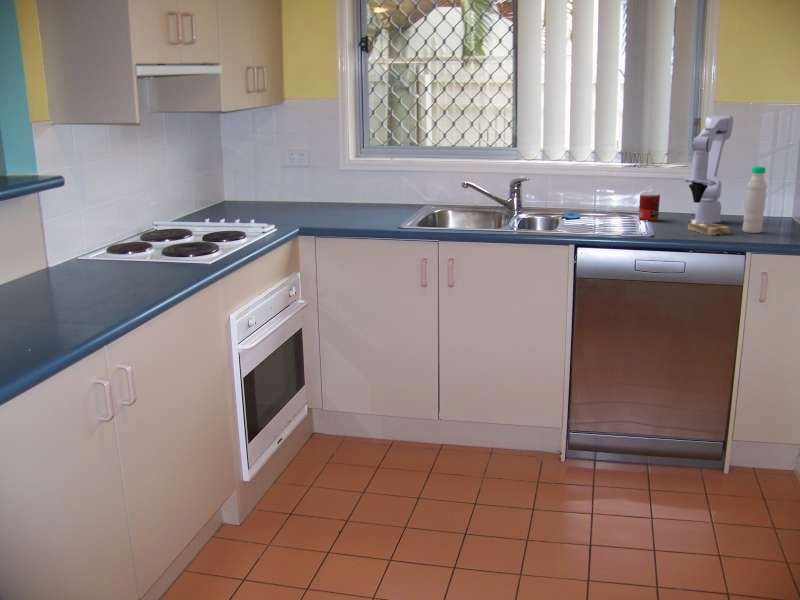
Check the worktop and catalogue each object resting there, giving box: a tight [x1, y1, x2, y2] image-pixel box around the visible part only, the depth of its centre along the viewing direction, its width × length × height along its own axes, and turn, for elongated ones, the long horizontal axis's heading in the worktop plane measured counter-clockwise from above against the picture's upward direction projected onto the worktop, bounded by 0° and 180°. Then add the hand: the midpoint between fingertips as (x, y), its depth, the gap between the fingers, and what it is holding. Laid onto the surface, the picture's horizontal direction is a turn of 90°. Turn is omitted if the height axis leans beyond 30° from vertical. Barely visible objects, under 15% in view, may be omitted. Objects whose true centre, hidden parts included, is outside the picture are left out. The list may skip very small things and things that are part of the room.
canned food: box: [638, 191, 661, 222], centre depth 362 cm, size 8×8×11 cm
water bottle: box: [742, 166, 768, 234], centre depth 334 cm, size 7×7×25 cm
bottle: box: [690, 220, 709, 227], centre depth 340 cm, size 4×4×8 cm
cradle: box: [687, 222, 731, 236], centre depth 338 cm, size 9×13×2 cm
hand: (696, 202), depth 345 cm, fingers closed
